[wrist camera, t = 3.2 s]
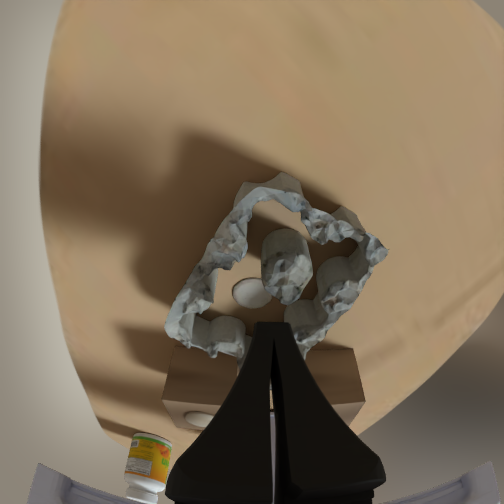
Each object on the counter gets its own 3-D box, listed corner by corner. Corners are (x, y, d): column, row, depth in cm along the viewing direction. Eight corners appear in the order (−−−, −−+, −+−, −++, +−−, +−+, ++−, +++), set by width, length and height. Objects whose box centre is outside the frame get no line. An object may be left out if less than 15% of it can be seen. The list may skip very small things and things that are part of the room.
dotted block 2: (338, 381, 22) (347, 430, 18) (284, 383, 22) (286, 435, 18) (352, 347, 19) (366, 404, 15) (290, 349, 19) (294, 409, 15)
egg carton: (270, 345, 19) (270, 396, 16) (166, 300, 17) (148, 352, 14) (382, 228, 14) (413, 277, 11) (259, 146, 12) (258, 175, 9)
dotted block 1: (240, 382, 22) (237, 434, 18) (185, 379, 22) (175, 429, 18) (239, 349, 19) (234, 409, 15) (175, 345, 19) (160, 402, 15)
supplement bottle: (175, 448, 33) (166, 508, 25) (139, 441, 33) (127, 498, 25) (168, 436, 30) (157, 503, 22) (129, 428, 30) (114, 492, 22)
